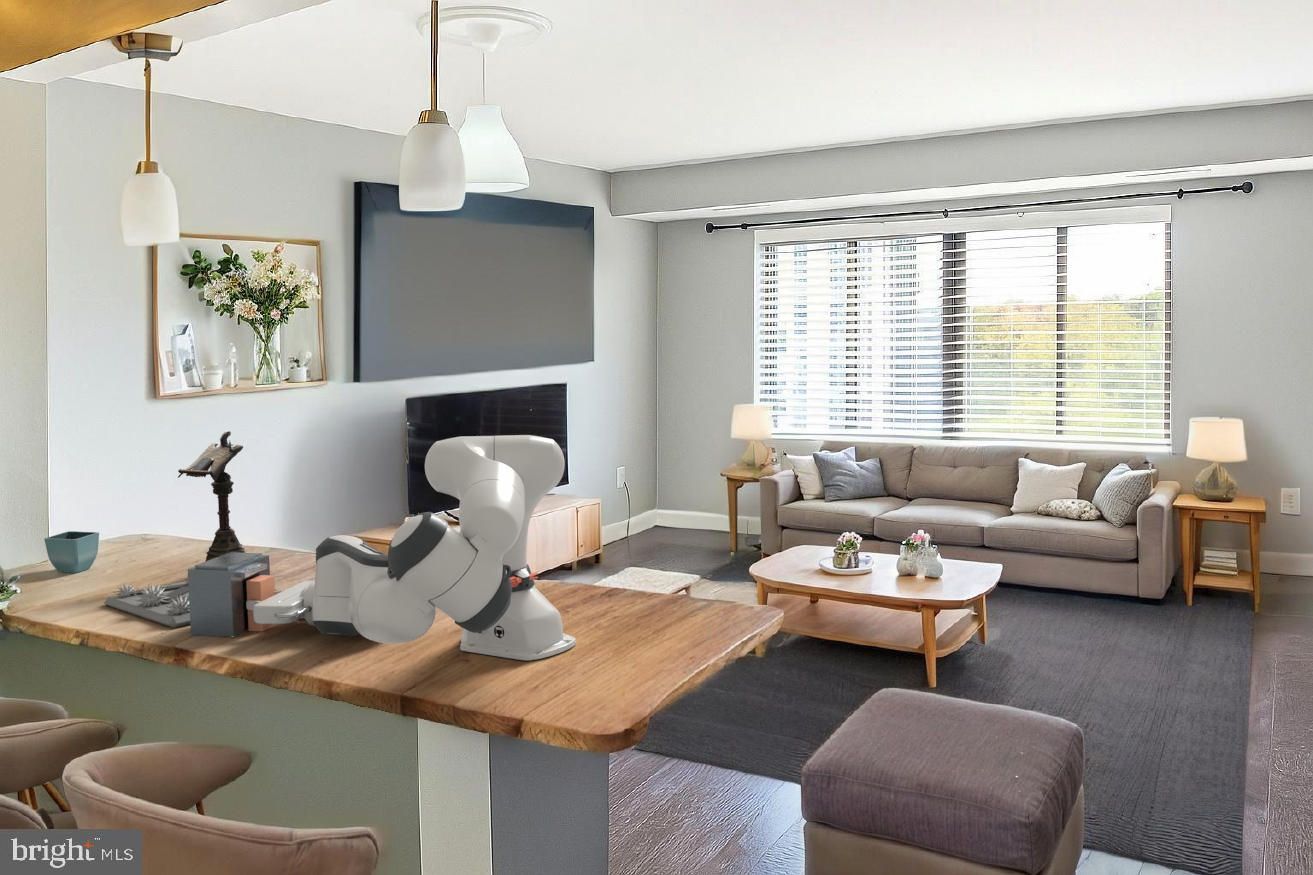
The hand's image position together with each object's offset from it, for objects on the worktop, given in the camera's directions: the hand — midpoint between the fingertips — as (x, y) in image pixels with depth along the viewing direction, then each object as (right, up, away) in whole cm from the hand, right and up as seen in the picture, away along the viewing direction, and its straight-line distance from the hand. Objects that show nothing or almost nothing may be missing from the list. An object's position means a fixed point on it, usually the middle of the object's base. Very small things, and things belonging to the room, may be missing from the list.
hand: (257, 600), depth 210 cm
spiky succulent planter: (-22, -5, +17) cm, 28 cm away
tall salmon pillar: (+1, -6, 0) cm, 6 cm away
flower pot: (-64, -1, +50) cm, 81 cm away
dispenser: (-6, -5, +2) cm, 8 cm away
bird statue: (-25, -1, +44) cm, 50 cm away
